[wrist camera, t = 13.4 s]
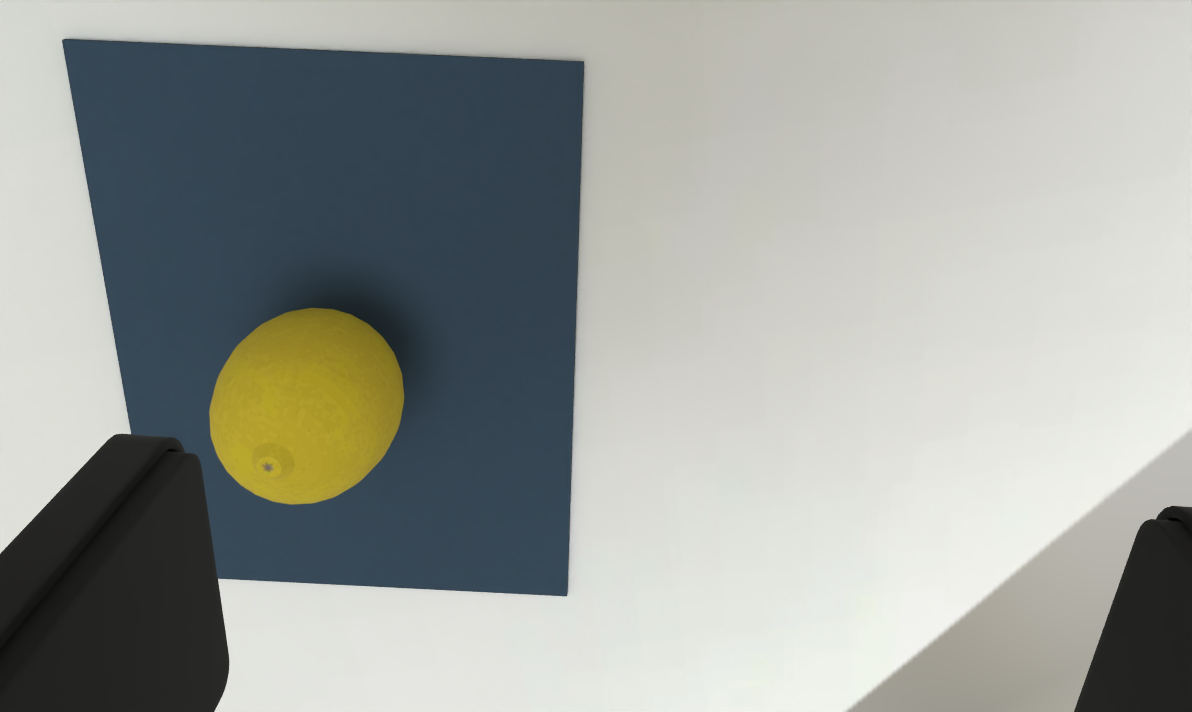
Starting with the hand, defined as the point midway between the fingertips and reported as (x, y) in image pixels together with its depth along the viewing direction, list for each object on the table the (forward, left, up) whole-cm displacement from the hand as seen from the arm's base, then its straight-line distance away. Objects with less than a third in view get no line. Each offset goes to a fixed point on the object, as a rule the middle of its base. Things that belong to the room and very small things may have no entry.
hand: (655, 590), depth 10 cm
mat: (+8, -10, -23) cm, 26 cm away
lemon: (+8, -10, -23) cm, 26 cm away
